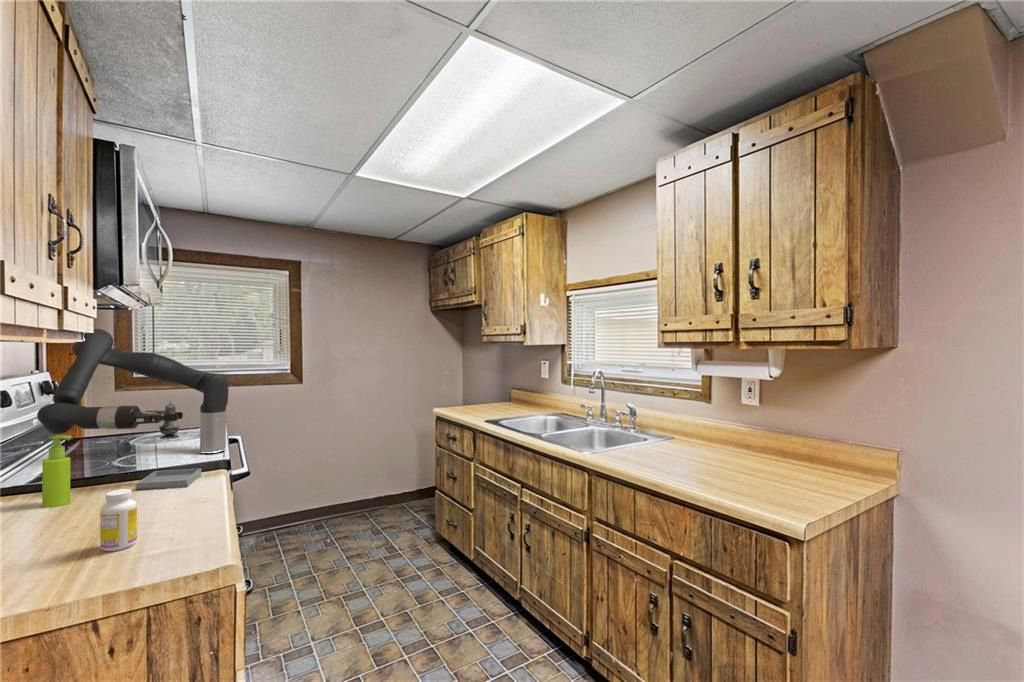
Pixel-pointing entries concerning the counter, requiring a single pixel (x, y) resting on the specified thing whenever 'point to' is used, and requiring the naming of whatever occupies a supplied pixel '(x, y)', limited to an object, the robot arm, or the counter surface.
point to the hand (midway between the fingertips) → (179, 416)
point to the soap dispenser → (56, 475)
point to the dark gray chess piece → (169, 424)
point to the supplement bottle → (118, 521)
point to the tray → (168, 479)
